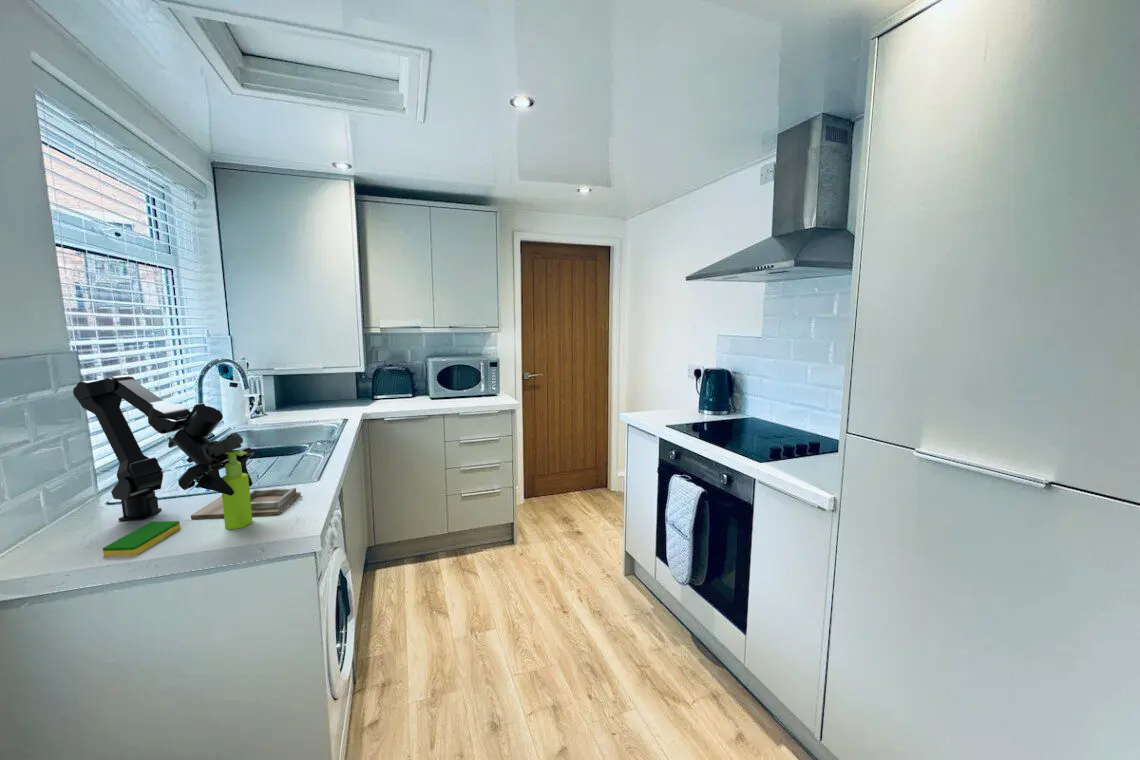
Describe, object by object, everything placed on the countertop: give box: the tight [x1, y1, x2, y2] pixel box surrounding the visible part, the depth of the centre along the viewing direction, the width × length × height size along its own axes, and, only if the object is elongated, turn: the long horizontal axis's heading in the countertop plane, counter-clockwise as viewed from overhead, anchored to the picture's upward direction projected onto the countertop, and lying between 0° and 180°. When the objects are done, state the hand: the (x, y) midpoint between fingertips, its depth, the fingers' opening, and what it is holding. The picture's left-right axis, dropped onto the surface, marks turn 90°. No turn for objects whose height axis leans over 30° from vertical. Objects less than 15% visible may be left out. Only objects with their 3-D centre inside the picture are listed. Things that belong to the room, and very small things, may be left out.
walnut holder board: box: [190, 487, 301, 520], centre depth 132 cm, size 22×14×3 cm, turn 98°
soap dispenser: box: [221, 449, 253, 530], centre depth 120 cm, size 6×7×20 cm
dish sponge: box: [102, 520, 181, 557], centre depth 112 cm, size 7×14×2 cm, turn 4°
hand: (242, 489), depth 120 cm, fingers closed on soap dispenser, 6 cm apart
